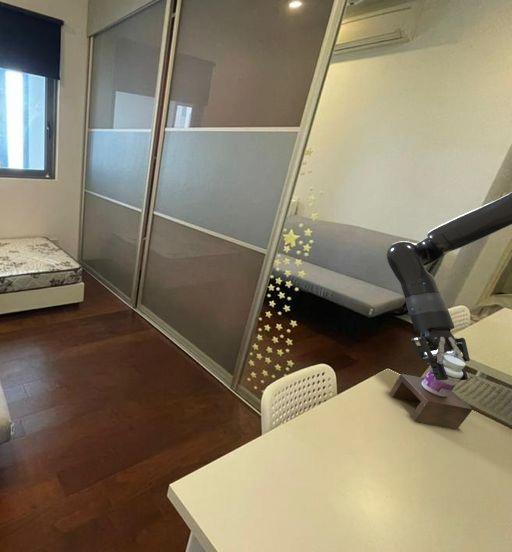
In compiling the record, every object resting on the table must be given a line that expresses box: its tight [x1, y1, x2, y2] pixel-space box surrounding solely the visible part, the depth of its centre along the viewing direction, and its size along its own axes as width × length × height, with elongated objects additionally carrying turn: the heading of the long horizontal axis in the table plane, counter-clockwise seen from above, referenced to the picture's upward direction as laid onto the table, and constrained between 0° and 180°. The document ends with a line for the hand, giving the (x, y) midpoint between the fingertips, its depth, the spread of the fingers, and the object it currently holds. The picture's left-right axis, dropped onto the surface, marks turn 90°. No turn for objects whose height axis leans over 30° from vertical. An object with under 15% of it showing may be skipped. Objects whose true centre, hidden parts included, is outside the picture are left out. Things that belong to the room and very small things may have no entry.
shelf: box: [389, 373, 474, 431], centre depth 83 cm, size 10×10×7 cm
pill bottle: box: [422, 355, 466, 397], centre depth 80 cm, size 5×5×10 cm
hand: (452, 379), depth 78 cm, fingers closed on pill bottle, 5 cm apart
